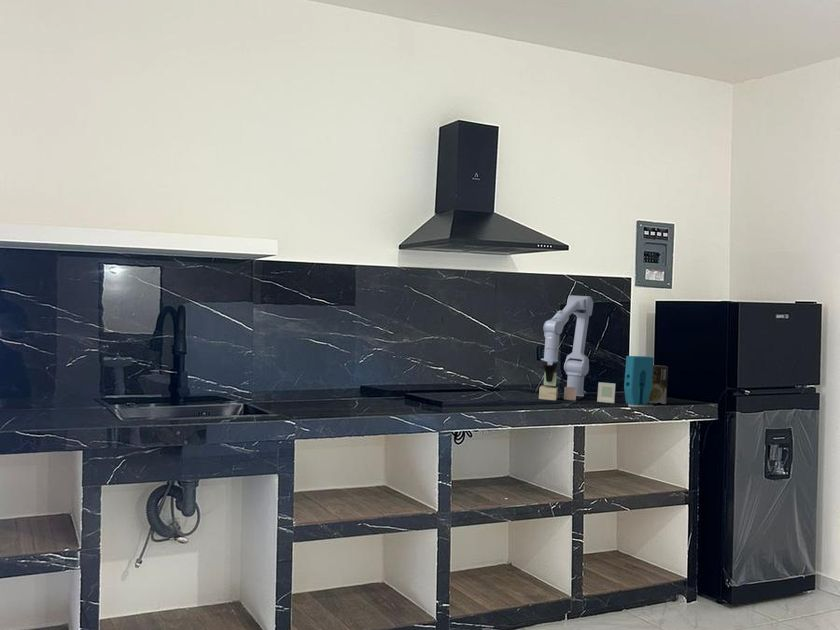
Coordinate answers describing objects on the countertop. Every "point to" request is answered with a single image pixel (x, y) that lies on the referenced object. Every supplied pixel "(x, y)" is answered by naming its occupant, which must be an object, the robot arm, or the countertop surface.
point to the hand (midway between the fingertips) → (549, 381)
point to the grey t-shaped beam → (606, 392)
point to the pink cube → (570, 393)
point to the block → (638, 379)
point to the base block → (548, 392)
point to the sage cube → (552, 380)
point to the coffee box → (659, 385)
